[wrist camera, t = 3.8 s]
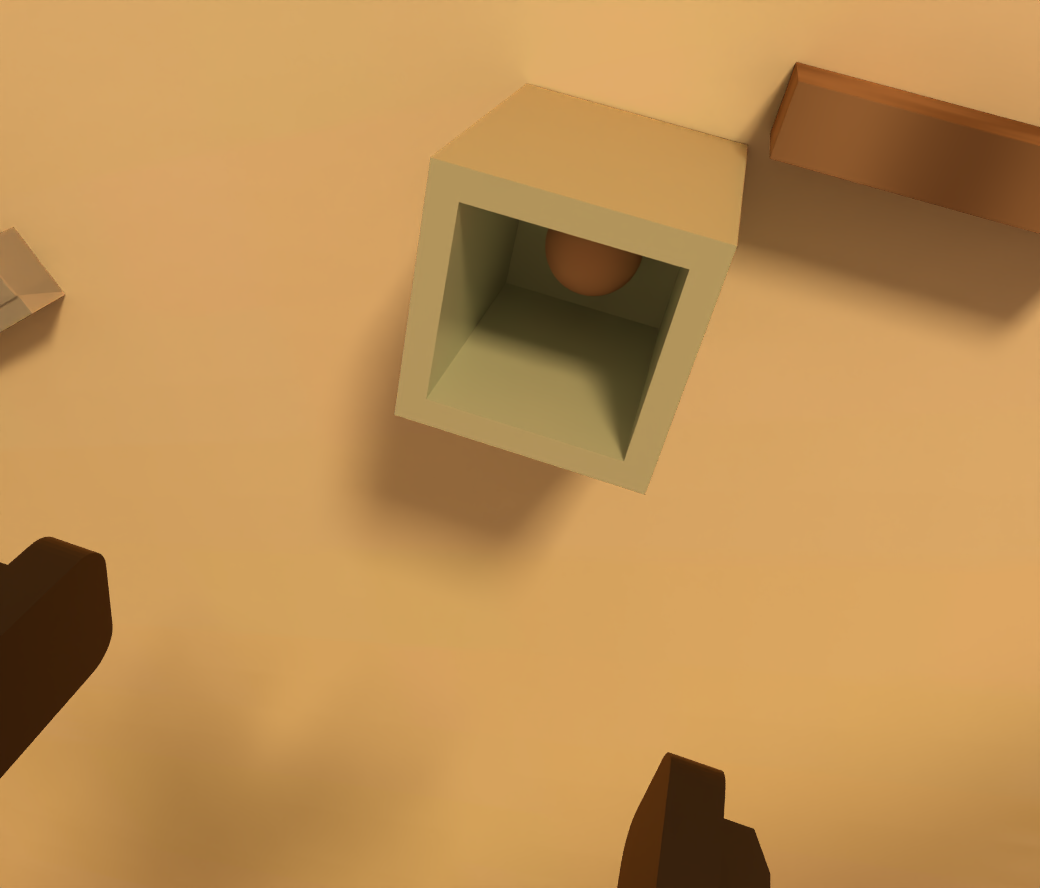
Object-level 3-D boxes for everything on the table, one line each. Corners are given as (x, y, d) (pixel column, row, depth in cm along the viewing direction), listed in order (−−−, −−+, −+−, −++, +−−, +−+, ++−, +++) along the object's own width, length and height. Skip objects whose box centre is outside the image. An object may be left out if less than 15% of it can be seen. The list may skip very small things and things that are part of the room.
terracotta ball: (661, 198, 26) (649, 229, 24) (634, 286, 28) (621, 323, 26) (568, 171, 27) (547, 200, 24) (547, 260, 28) (525, 295, 26)
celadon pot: (748, 145, 26) (737, 245, 18) (677, 345, 30) (645, 494, 22) (526, 83, 26) (430, 157, 19) (486, 288, 30) (394, 414, 23)
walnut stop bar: (1155, 158, 23) (1199, 189, 21) (1111, 227, 25) (1148, 264, 22) (796, 62, 24) (798, 80, 22) (770, 132, 25) (769, 158, 23)
